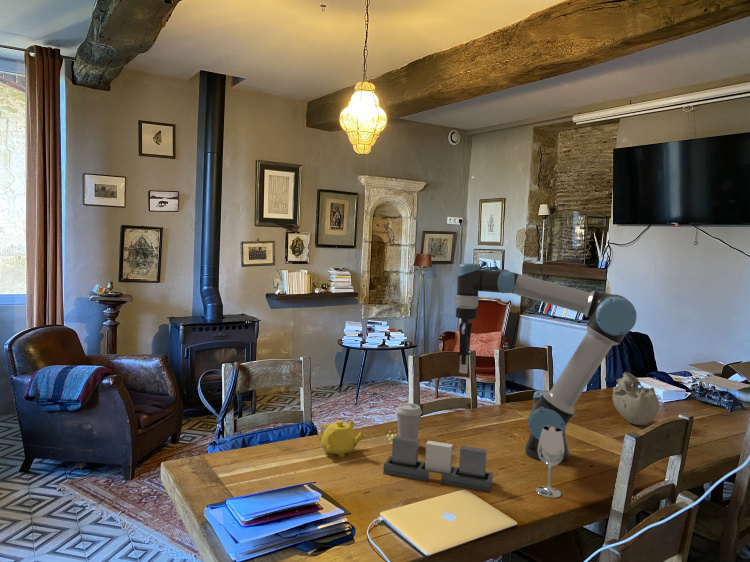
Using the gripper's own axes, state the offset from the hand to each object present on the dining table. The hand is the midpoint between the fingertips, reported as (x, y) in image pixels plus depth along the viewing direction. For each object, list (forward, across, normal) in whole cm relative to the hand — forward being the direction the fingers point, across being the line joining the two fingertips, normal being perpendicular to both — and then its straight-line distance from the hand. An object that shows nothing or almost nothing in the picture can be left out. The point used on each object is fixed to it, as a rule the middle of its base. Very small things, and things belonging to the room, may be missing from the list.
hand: (463, 372), depth 198 cm
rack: (+29, +25, -3) cm, 39 cm away
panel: (+28, +24, -3) cm, 37 cm away
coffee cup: (+30, +1, -19) cm, 35 cm away
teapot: (+30, +16, -39) cm, 52 cm away
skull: (+30, -68, +66) cm, 99 cm away
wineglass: (+30, +21, +31) cm, 48 cm away
